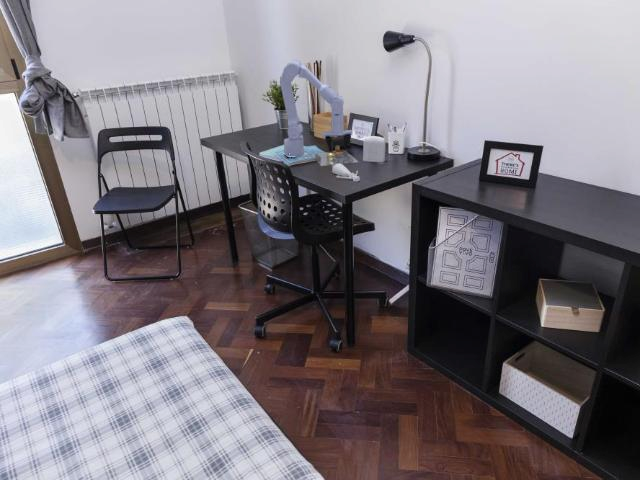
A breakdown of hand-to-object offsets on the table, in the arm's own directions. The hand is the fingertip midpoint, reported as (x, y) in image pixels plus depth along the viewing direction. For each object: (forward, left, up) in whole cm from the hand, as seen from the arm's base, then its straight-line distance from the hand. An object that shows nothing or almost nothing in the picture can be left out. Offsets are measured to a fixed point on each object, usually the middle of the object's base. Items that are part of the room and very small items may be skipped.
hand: (337, 150), depth 234 cm
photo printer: (+13, -16, -3) cm, 20 cm away
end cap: (+4, +12, -3) cm, 13 cm away
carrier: (-3, -5, -3) cm, 7 cm away
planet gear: (0, 0, -2) cm, 2 cm away
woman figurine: (-5, -30, -3) cm, 31 cm away
